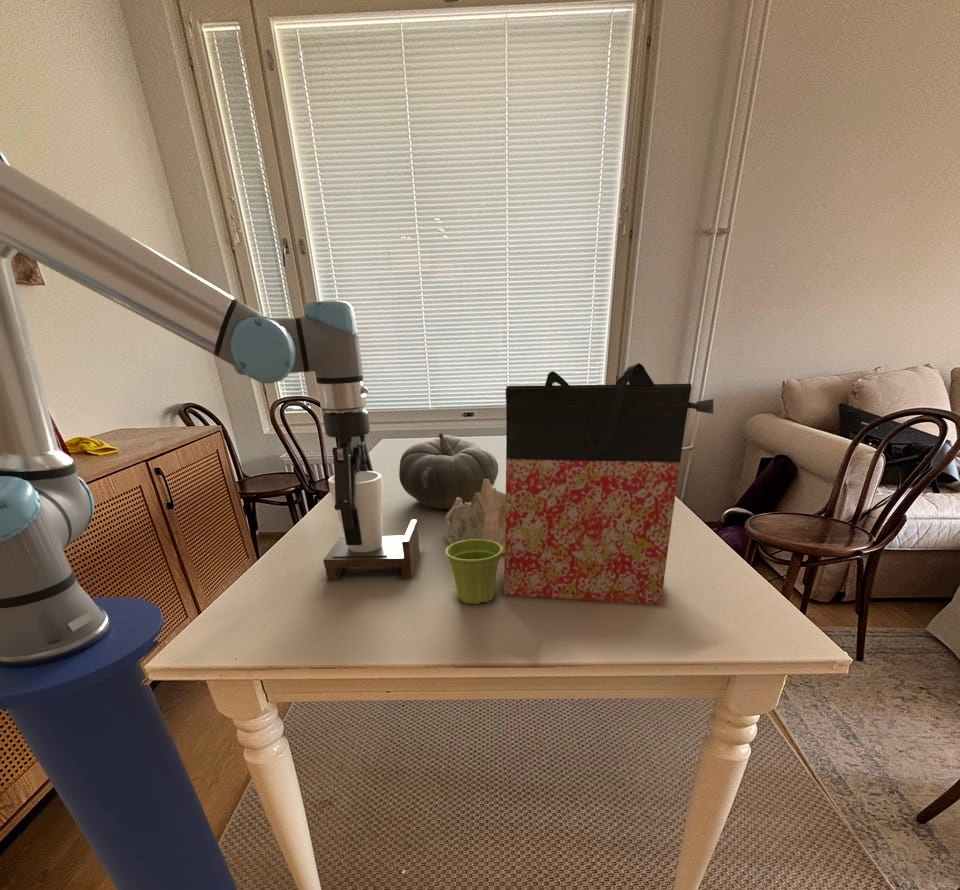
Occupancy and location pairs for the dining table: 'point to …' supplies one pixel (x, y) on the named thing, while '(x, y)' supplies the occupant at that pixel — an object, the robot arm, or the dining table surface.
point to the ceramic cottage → (479, 517)
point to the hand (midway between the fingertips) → (362, 531)
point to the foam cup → (366, 509)
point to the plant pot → (474, 568)
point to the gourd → (446, 471)
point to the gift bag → (592, 486)
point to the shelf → (377, 554)
